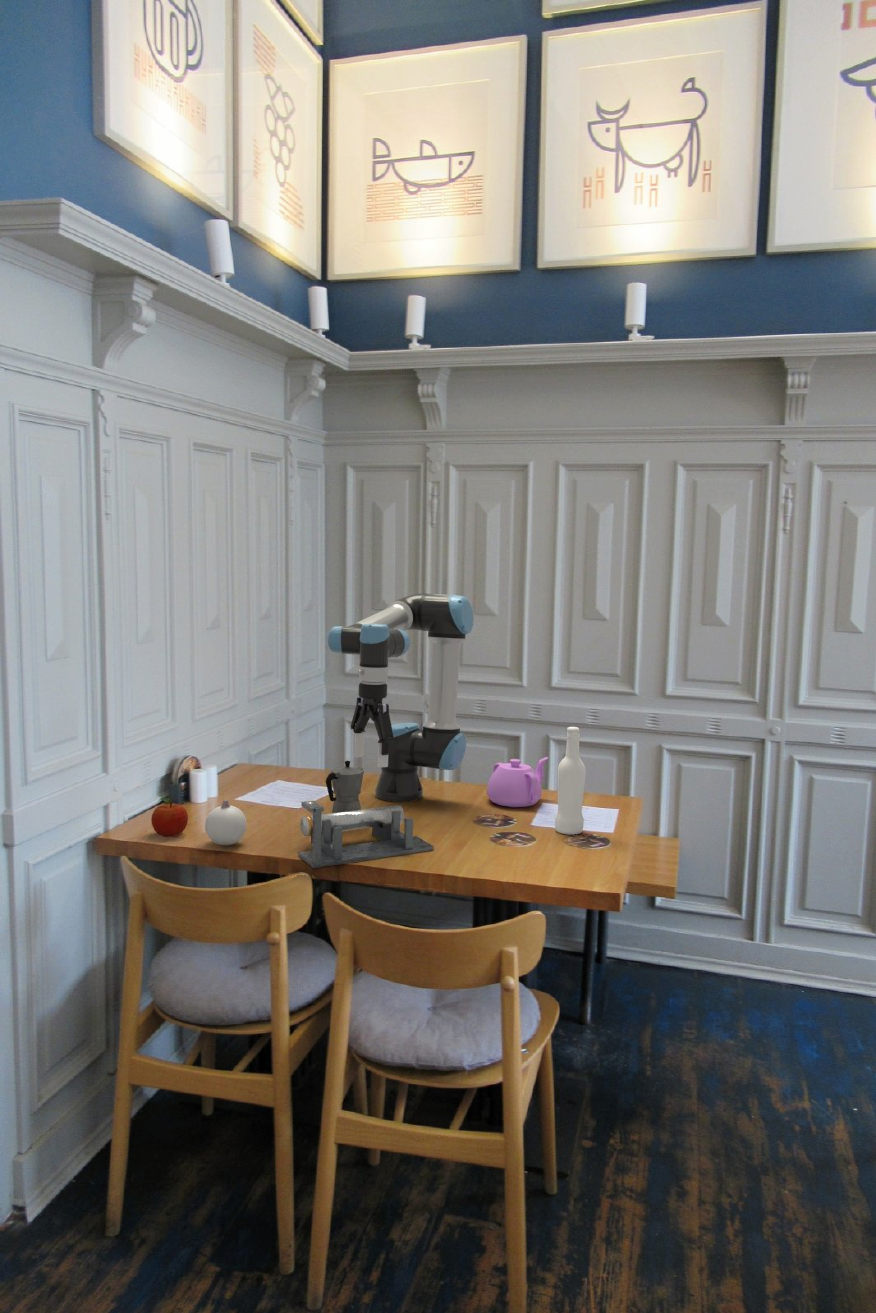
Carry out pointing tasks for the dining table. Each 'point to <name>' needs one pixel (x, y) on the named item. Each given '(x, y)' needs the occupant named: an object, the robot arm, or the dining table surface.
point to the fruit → (169, 819)
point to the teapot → (515, 784)
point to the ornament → (225, 824)
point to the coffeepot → (345, 788)
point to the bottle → (570, 787)
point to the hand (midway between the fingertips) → (370, 761)
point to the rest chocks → (378, 832)
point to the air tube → (354, 819)
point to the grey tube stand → (341, 854)
